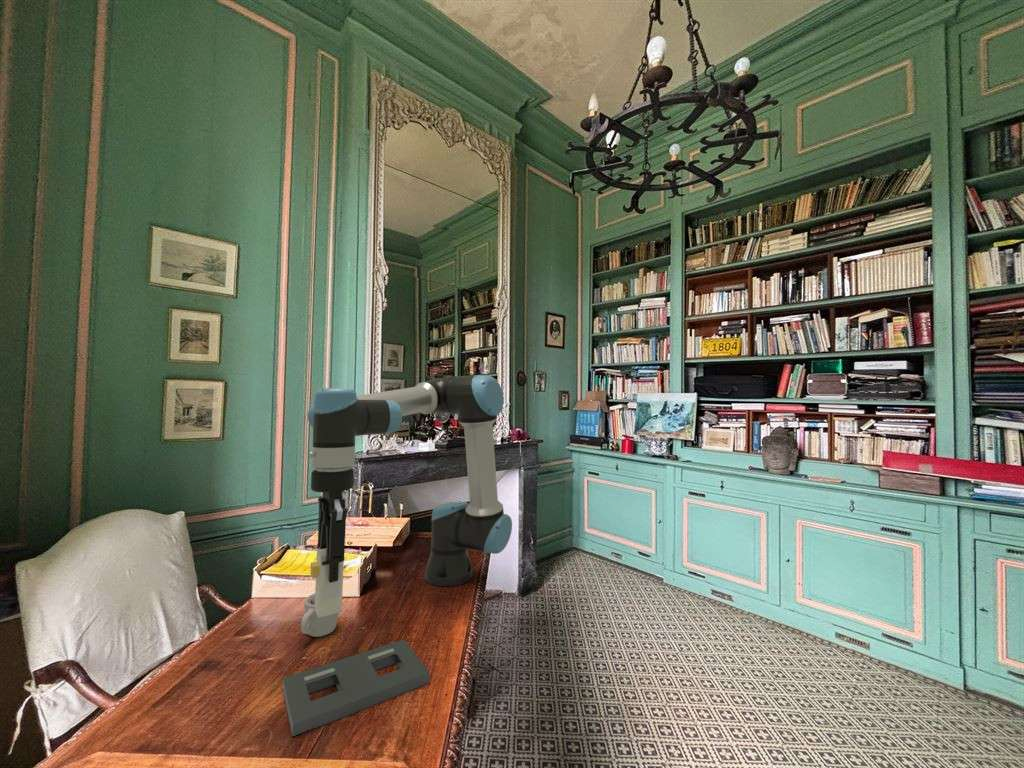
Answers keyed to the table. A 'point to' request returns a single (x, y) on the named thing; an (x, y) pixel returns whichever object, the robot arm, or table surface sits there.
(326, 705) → the panel
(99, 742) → the table surface
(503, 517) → the robot arm
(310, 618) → the cup
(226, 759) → the table surface
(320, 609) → the plug
